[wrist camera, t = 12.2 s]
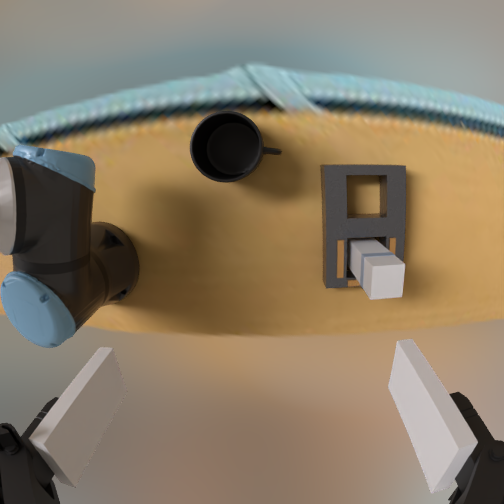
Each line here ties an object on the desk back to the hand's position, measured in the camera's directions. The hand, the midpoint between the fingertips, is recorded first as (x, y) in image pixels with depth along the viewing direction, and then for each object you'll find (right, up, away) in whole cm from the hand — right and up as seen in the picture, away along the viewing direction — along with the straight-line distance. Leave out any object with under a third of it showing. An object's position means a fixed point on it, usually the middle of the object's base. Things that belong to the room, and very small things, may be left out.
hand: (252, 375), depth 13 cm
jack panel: (+18, +10, +36) cm, 42 cm away
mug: (-2, +21, +34) cm, 41 cm away
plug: (+18, +6, +38) cm, 42 cm away
